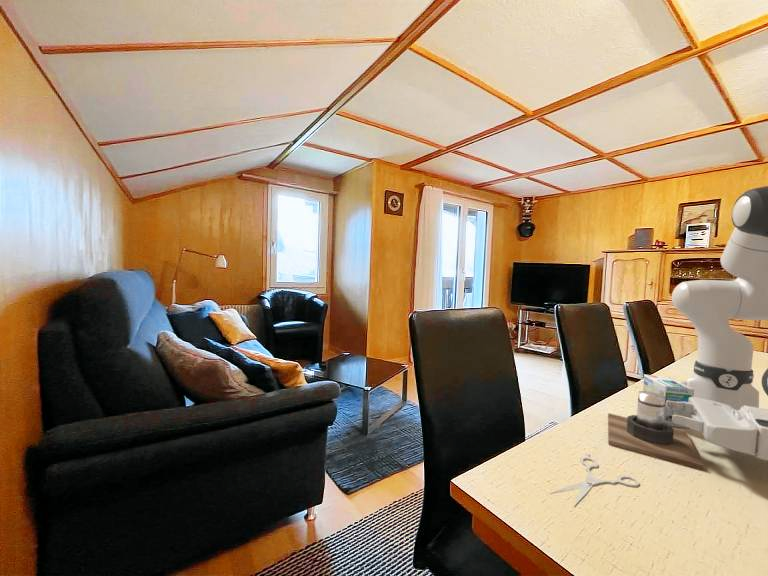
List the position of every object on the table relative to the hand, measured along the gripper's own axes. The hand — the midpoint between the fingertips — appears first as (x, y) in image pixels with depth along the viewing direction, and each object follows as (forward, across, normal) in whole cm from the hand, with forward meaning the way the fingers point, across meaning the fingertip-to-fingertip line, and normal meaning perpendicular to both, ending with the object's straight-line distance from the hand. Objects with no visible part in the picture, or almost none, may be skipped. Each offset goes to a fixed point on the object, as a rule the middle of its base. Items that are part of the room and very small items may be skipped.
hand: (669, 410), depth 77 cm
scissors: (+14, +28, +9) cm, 33 cm away
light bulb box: (-2, -18, +8) cm, 20 cm away
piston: (+3, 0, +7) cm, 8 cm away
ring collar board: (+3, 0, +8) cm, 9 cm away
